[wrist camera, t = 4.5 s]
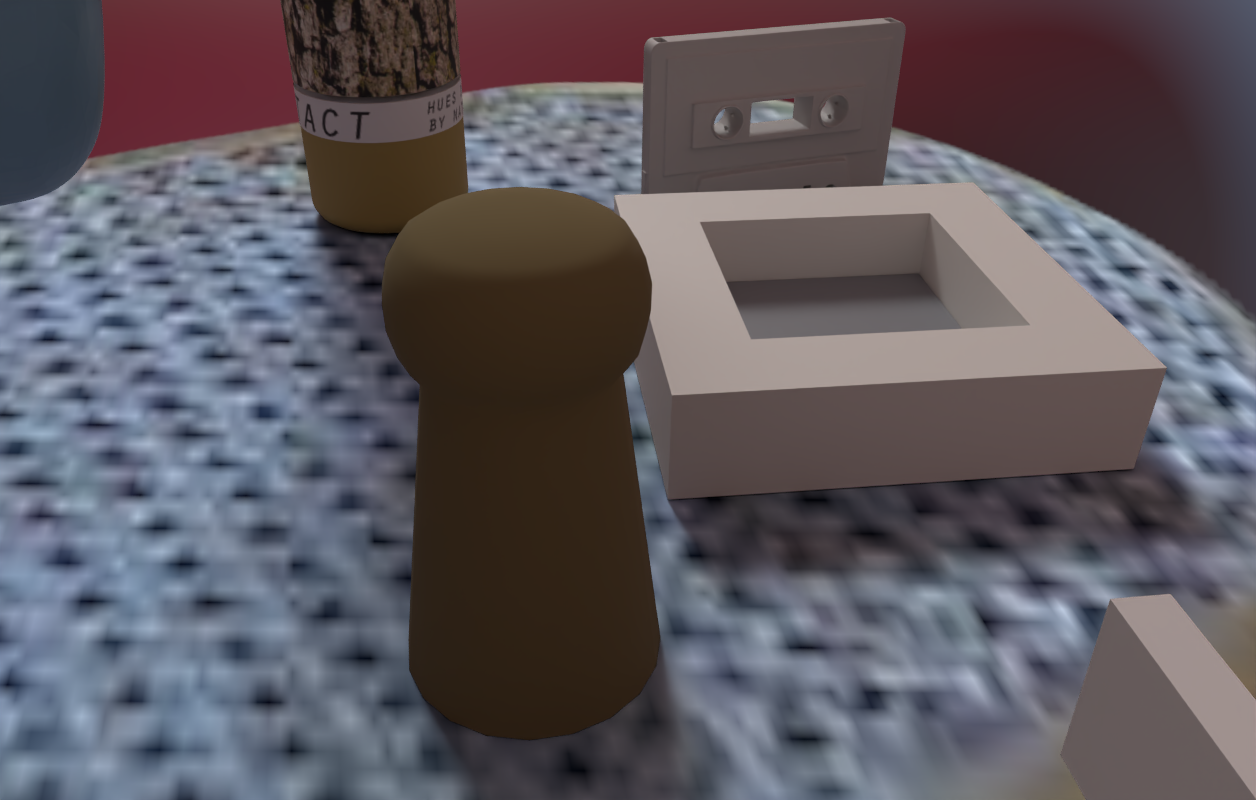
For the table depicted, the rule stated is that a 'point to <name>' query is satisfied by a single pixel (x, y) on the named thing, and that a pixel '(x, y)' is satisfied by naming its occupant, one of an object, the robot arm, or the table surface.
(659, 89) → the cassette
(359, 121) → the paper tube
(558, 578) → the cork
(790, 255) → the socket block
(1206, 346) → the table surface
